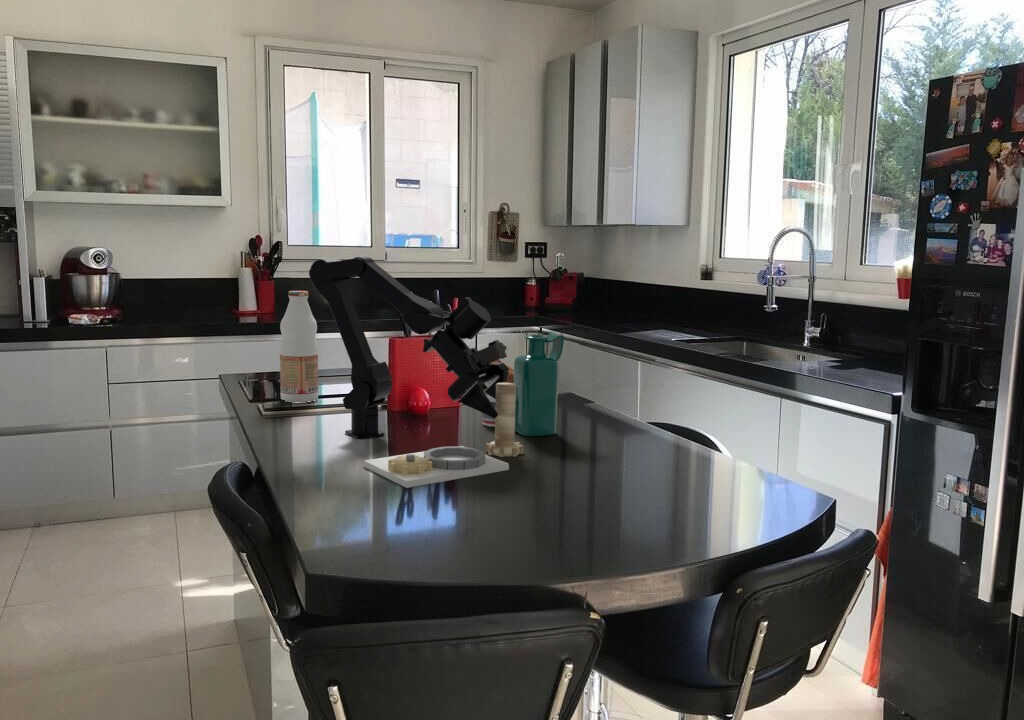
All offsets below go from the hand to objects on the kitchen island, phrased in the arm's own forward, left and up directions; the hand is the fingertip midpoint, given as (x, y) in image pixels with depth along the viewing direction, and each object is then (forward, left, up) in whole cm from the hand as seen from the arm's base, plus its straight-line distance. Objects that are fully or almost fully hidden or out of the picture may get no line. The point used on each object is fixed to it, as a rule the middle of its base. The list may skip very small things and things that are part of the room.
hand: (505, 412), depth 176 cm
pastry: (-65, +43, -9) cm, 78 cm away
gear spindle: (0, 0, -8) cm, 8 cm away
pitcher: (-11, +17, -8) cm, 22 cm away
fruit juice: (-70, -14, -8) cm, 72 cm away
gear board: (+3, -18, -8) cm, 20 cm away
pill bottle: (-22, +13, -8) cm, 27 cm away
